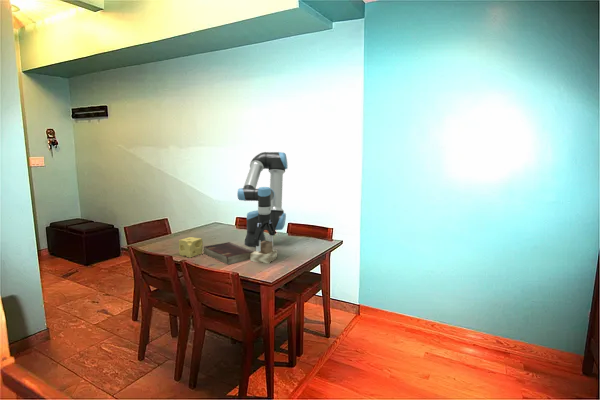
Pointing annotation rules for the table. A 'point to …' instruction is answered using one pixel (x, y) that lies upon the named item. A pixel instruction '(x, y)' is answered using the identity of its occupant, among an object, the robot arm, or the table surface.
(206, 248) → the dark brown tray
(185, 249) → the cheese
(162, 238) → the table surface
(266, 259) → the birch block
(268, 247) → the walnut cube
